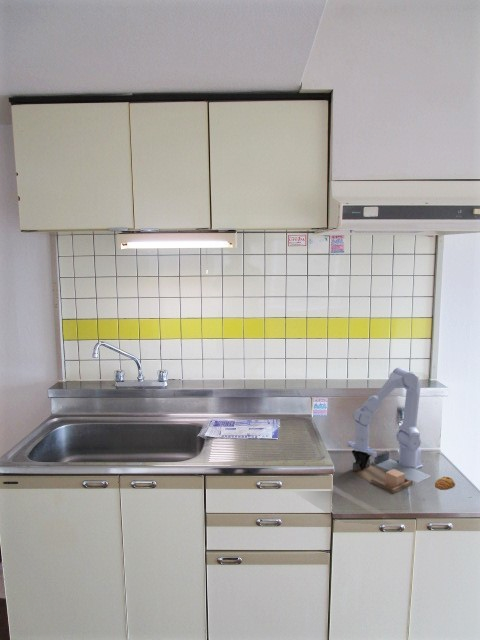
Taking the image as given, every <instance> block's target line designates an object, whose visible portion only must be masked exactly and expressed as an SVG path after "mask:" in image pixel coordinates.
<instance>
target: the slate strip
mask: <svg viewBox="0 0 480 640" xmlns="http://www.w3.org/2000/svg"><path fill="white" fill-rule="evenodd" d="M372 464H373V465H375V466H377V467H380V468H382V469H385V470H387V471H390V470H393V469H395V470H398V471H400V472H402V473H404V474H405V478H406V479H408V480H412V481H413V482H414V483H416V484H418V483H420V482H422V481H425V480H426V479H429V478H430V477H432V475H430V474H428V473H426V472H423V471H420V470H418V469H417V468H414V467H407V466H403V465H401V464H400V463H399V461H396V460H395V459H391V458H390V451H388V450H384V451H381V452H379V453H377V457H374V462H372Z"/></svg>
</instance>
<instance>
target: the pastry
mask: <svg viewBox="0 0 480 640" xmlns="http://www.w3.org/2000/svg"><path fill="white" fill-rule="evenodd" d="M455 482H456V481H454V479H453V478H451V477H450V476H442V477H440V478H438V479H437V480H436V481H435V483H434V488H435V489H438V490H440V491H441V490H442V491H445V490H449V489H453V488H454V487H456V483H455Z"/></svg>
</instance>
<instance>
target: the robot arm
mask: <svg viewBox="0 0 480 640" xmlns="http://www.w3.org/2000/svg"><path fill="white" fill-rule="evenodd" d="M400 388H401V389H402V388H404V389H405V390H406V393H405V398H404V399H405V401H404V411H403V419H402V420H403V421H402V424H401V425H399V426H398V431H397V433H396V435H395V436H396V438H395V439H396V440H397V442H398V445H399V450H398V453H399V455H398V457H399V458H398V462H399V463H400V464H401V465H403V466H407V467H411V468H414V469H419V468H422V467H423V466H424V465H423V464H422V449H421V444H422V442H421V437H420V436H421V435H420V431H419V429H418V428H417V422H418V416H419V415H418V414H419V403H420V397H421V395H420V394H421V386H420V383H419V376H418V375H417V374H416V373H415V372H413V371H409V370H406V369H404V368H402V367H396V368H394V369H393V371H392V372H391V373H390V374H389V377H388V379H387V380H386V381H385V383H384V384H383V385H382V387H381V388H380V389H379V391H377V393H376V394H375V395H371V396H369V397H368V398H367V400H366V401H365V402H364V403H363V405H361V406H360V407H359V408H357V409H356V410H354V412H353V414H352V419H354V423H355V425H354V441H351V440H349V441H347V442H346V444H347V445H346V446H347V448H349V447H350V448H353V450H351V453H352V455H353V457H354V460H355V462H357V461H360V460H361V469H364V468H366V464H367V461H368V459H370V458H371V457H372V458H375V457H377V454H378V452H377V451H376V450H374V449H373V448H371V447H370V446H369V445H370V444H369V443H370V424H371V423H372V421H373V418H374V415H375V414H376V412H378V410H379V409H380V408H381V407H382V406H383V401H384V400H385V398H387V397H388V396H389V395H391V393H392V392H393V391H395V389H400Z"/></svg>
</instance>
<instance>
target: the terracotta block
mask: <svg viewBox="0 0 480 640" xmlns="http://www.w3.org/2000/svg"><path fill="white" fill-rule="evenodd" d="M385 472H386V484H387V485H389V486H391V487H393V488H395V487H397V486H399V485H401V484H403V483H404V481H405V474H404V473H402V472H400V471H398V470H395V469H393V470H390V471H389V470H387V471H385Z"/></svg>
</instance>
